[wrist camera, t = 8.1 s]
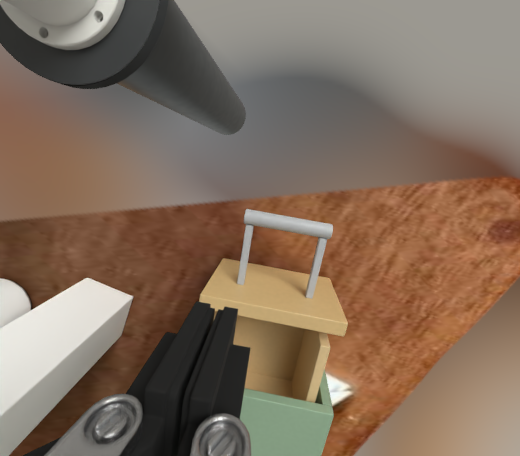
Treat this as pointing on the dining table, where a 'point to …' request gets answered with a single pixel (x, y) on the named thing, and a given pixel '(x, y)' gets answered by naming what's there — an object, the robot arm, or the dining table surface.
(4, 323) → the can
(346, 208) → the dining table surface
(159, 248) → the dining table surface
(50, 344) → the milk
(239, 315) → the drawer
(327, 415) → the cabinet
